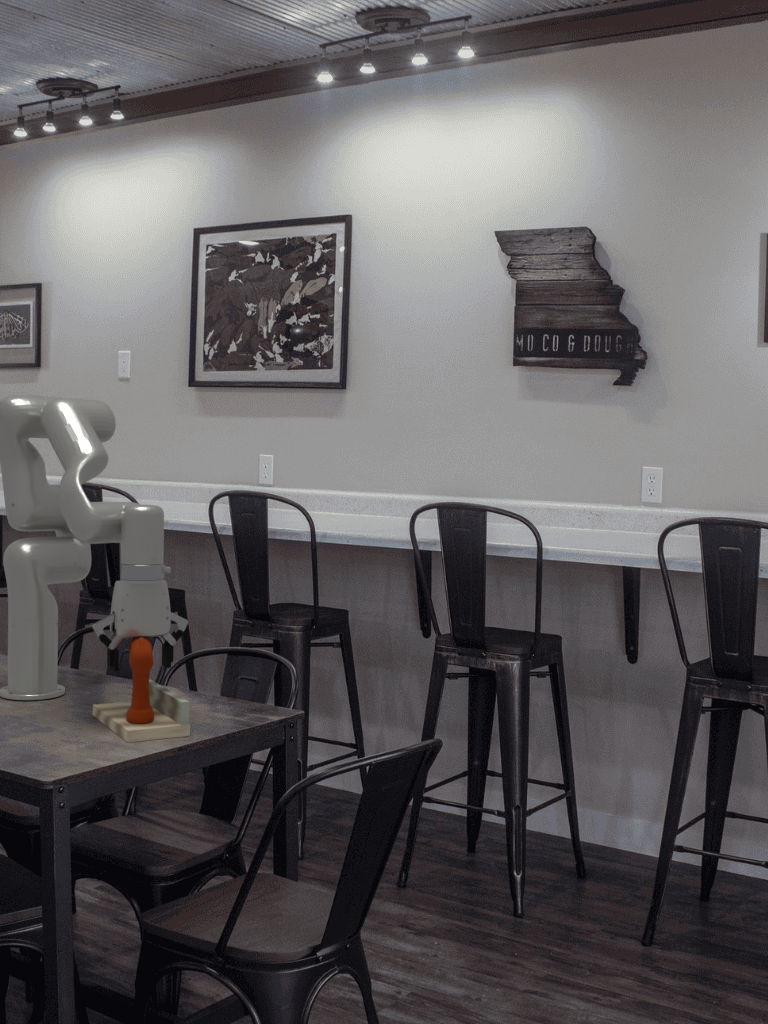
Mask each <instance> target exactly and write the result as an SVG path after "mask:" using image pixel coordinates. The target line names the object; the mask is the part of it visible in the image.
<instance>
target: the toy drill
mask: <svg viewBox="0 0 768 1024" xmlns="http://www.w3.org/2000/svg"><path fill="white" fill-rule="evenodd" d="M128 656H129V657H128V658H129V659H128V661H129V665H130V666H129V667H130V669H131V671H132V689H131V690H132V691H131V700H130V701H131V707H130V708H129V709H128V711H127V713H126V720H127V721H128V722H131V723H148V722H152V721H153V720H154V712H153V709H152V708H151V707H150V697H149V679H150V676H151V675H150V674H151V670H152V669H153V666H154V657H153V656H154V655H153V646H152V642H151V640H150V639H149V637H138V638H131V640H130V641H129V643H128Z"/></svg>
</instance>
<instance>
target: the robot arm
mask: <svg viewBox="0 0 768 1024" xmlns="http://www.w3.org/2000/svg"><path fill="white" fill-rule="evenodd" d="M116 422H117V421H116V417H115V414H114V412H113V411H112V409H111V407H110V406H109V405H108V404H107V403H105V402H104V401H101V400H98V399H87V398H86V399H84V398H83V399H82V398H72V397H70V398H69V397H57V396H56V397H55V396H43V395H31V394H16V395H9V396H5V397H3V398H1V399H0V470H1V480H2V481H1V482H2V490H3V491H2V492H3V497H4V506H5V508H4V509H5V513H6V518H7V521H8V524H9V526H10V527H11V528H12V529H14V530H16V531H19V532H52V531H53V532H55V535H56V536H40V537H38V536H37V537H24V538H19V539H16V540H14V541H13V542H12V543H10V544H8V546H7V547H6V548H5V551H4V553H3V557H2V559H3V560H2V561H3V564H2V565H3V570H4V574H5V575H4V576H5V580H6V587H7V604H8V607H7V611H8V614H7V619H8V620H7V621H8V622H7V623H8V624H7V625H8V628H7V630H8V632H7V685H6V686H3V687H1V688H0V697H1V698H2V699H6V700H13V701H39V700H41V701H42V700H48V699H55V698H58V697H61V696H63V695H64V694H66V687H65V686H64V685H62V684H59V683H58V661H59V660H58V659H59V658H58V647H59V643H58V642H59V608H58V603H57V601H56V598H55V596H54V594H53V593H52V592H51V590H50V589H49V587H48V585H54V584H66V583H67V584H70V583H77V582H80V581H83V580H84V579H86V578H87V576H88V575H89V573H90V571H91V567H92V549H91V545H93V544H94V545H97V544H112V543H114V544H119V543H120V567H119V568H120V570H119V571H120V573H119V574H120V576H119V577H120V580H116V581H115V583H114V587H113V592H112V599H111V607H110V608H111V609H110V613H109V615H106V616H104V617H103V618H101V619H100V620H98V621H96V622H95V623H92V627H91V628H92V629H93V632H94V633H95V635H96V637H97V639H98V640H99V642H101V643H102V644H103V646H105V648H107V649H106V650H107V653H106V654H107V655H106V664H107V667H108V668H109V670H110V671H112V672H114V673H117V672H118V671H119V669H120V668H119V667H120V666H119V663H120V661H119V660H120V659H119V658H120V657H119V656H120V651H119V649H118V648H117V647H118V645H119V644H120V643H121V641H122V640H123V639H133V638H138V637H147V638H149V637H150V638H153V637H161V639H162V640H163V642H164V643H162V645H161V665H162V666H163V667H165V668H168V669H171V668H172V663H173V662H174V649H175V647H174V646H176V644H177V642H178V641H179V640H180V639H181V638H182V636H184V632H185V631H186V628H187V626H188V624H189V620H188V619H186V618H184V617H182V616H179V615H178V614H175V613H173V612H171V603H170V602H171V601H170V594H169V587H168V583H167V582H168V581H167V580H165V576H166V575H169V574H171V572H172V569H171V566H167V565H165V563H164V555H165V554H164V548H165V547H164V546H165V544H164V542H165V537H164V536H165V512H164V510H163V508H162V507H161V506H159V505H154V504H140V503H137V502H133V501H90V499H89V498H88V496H87V495H86V492H85V491H84V488H83V484H85V483H87V482H89V481H92V480H93V479H95V478H96V477H97V476H99V475H100V474H101V473H102V472H103V471H104V470H105V469H106V468H107V466H108V463H109V455H108V452H107V450H106V448H105V446H104V445H103V443H106V442H108V441H110V440H111V439H112V437H113V436H114V434H115V432H116V425H117V424H116ZM33 438H34V439H48V441H49V442H50V443H49V444H50V445H51V447H52V449H53V451H54V452H55V454H56V457H57V459H58V460H59V462H60V464H61V466H62V468H63V471H64V473H63V475H62V477H61V480H60V482H59V484H50V483H49V482H48V479H47V472H46V465H45V460H44V458H43V457H42V455H41V453H40V452H39V450H38V449H37V448H36V446H34V444H32V442H31V441H30V439H33ZM172 621H173V622H175V623H176V624H177V626H176V629H174V630H173V631H172V632H171V626H172V625H171V624H172ZM107 626H109V629H110V630H109V631H110V632H111V635H110V636H107V635H106V633H105V631H104V628H106V627H107ZM170 632H171V633H170Z"/></svg>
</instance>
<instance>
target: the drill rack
mask: <svg viewBox="0 0 768 1024" xmlns="http://www.w3.org/2000/svg"><path fill="white" fill-rule="evenodd" d="M149 697H150V707H151V708H152V709H153V712H154V720H153V721H152V722H148V723H131V722H128V721H127V720H126V713H127V711H128V709H129V708H130V707H131V700H130V701H119V702H107V703H98V704H97V703H96V704H95V703H94V704H92V716H93V717H94V718H95V719H96V720H98V721H99V722H101V723H102V724H103V725H104V726H106V728H107V727H108V728H109V729H110V730H111V731H112V732H114V733H115V734H117V736H118V737H120V738H121V739H123V740H124V741H125V742H126V743H136V742H146V741H154V740H165V739H174V738H184V737H190V736H191V724H190V701H189V700H188V699H185V698H183V697H182V696H180V695H179V694H177V693H175V692H173V691H172V690H170V689H168V688H166V687H165V686H163V685H162V684H159V683H157V682H155V681H154V680H152V679H150V678H149Z"/></svg>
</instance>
